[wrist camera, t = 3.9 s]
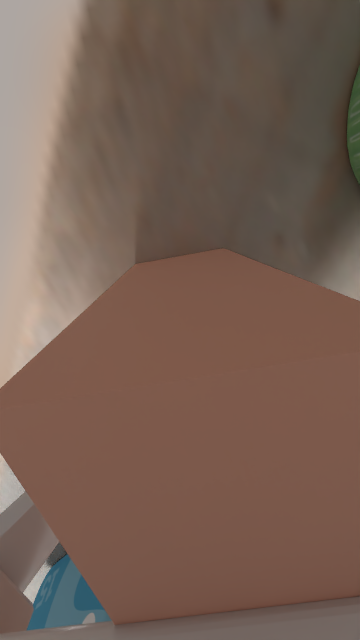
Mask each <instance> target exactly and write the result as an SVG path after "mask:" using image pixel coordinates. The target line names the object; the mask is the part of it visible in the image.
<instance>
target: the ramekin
mask: <svg viewBox="0 0 360 640" xmlns="http://www.w3.org/2000/svg"><path fill="white" fill-rule="evenodd" d="M347 148H348V151H349V159H350V163H351V167H352V169H353V172H354V175H355V177H356V179H357V181H358V183H359V185H360V66H359V69H358V72H357V75H356V78H355V81H354V85H353V89H352V94H351V99H350V104H349V110H348V122H347Z"/></svg>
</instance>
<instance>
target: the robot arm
mask: <svg viewBox="0 0 360 640" xmlns="http://www.w3.org/2000/svg"><path fill="white" fill-rule="evenodd" d="M58 543H59V540H58V539H57V537H56V536H55V534H54V533H53V531H52V530H51V528H50V527H49V525H48V524H47V522H46V521H45V519H44V518H43V516H42V515H41V513H40V512H39V510H38V509H37V507H36V506H35V504H34V503H33V501H32V500H31V498H30V497H29V495H28V494H27V492H26V491H25V492H24V493H23V494H22V495H21V496H20V497H19V498H18V499H17V500H16V501H14V502H13V503H12V504H11V505H10V506H9V507H8V508H7V509H6V510H5V511H4V512H2V513H1V514H0V640H360V596H357V597H348V598H340V599H331V600H323V601H314V602H306V603H297V604H289V605H280V606H272V607H264V608H255V609H246V610H238V611H229V612H221V613H212V614H204V615H195V616H187V617H178V618H170V619H161V620H152V621H144V622H135V623H127V624H118V625H115V624H114V623H113V621H104V622H96V623H87V624H78V625H70V626H61V627H53V628H44V629H36V630H27V627H28V625H29V622H30V619H31V616H32V613H33V611H34V608H33V604H32V602H31V601H30V600H29V599H28V598H27V597H26V596H25V595H24V594H23V592H24V590H25V589H26V588H27V586H28V585H29V583H30V582H31V580H32V579H33V578H34V576H35V575H36V573H37V572H38V571H39V569H40V568H41V566H42V565H43V564H44V562H45V561H46V559H47V558H48V557H49V555H50V554H51V552H52V551H53V550H54V548H55V547H56V545H57V544H58ZM26 630H27V631H26Z"/></svg>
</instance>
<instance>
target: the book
mask: <svg viewBox="0 0 360 640" xmlns="http://www.w3.org/2000/svg"><path fill="white" fill-rule="evenodd" d="M0 453H1V455H2V456H3V458H4V459H5V461H6V462H7V464H8V465H9V467H10V468H11V470H12V471H13V473H14V474H15V476H16V477H17V479H18V480H19V482H20V483H21V485H22V486H23V488H24V489H25V491H26V492H27V494H28V495H29V497H30V498H31V500H32V501H33V503H34V504H35V506H36V507H37V509H38V510H39V512H40V513H41V515H42V516H43V518H44V519H45V521H46V522H47V524H48V525H49V527H50V528H51V530H52V531H53V533H54V534H55V536H56V537H57V539H58V540H59V542H60V543H61V545H62V546H63V548H64V549H65V551H66V552H67V554H68V555H69V557H70V558H71V560H72V561H73V563H74V564H75V566H76V567H77V569H78V570H79V572H80V573H81V575H82V576H83V578H84V579H85V581H86V582H87V584H88V585H89V587H90V588H91V590H92V591H93V593H94V594H95V596H96V597H97V599H98V600H99V602H100V603H101V605H102V606H103V608H104V609H105V611H106V612H107V614H108V615H109V617H110V618H111V620H112V621H113V623H114V624H115V625H118V624H127V623H135V622H144V621H152V620H161V619H170V618H178V617H187V616H195V615H204V614H212V613H221V612H229V611H238V610H246V609H255V608H264V607H272V606H280V605H289V604H297V603H306V602H314V601H323V600H331V599H340V598H348V597H357V596H360V301H358V300H355V299H352V298H350V297H347V296H345V295H342V294H340V293H337V292H335V291H332V290H329V289H327V288H324V287H322V286H319V285H317V284H314V283H312V282H309V281H306V280H304V279H301V278H299V277H296V276H294V275H291V274H288V273H286V272H283V271H281V270H278V269H276V268H273V267H271V266H268V265H265V264H263V263H260V262H258V261H255V260H253V259H250V258H248V257H245V256H242V255H240V254H237V253H235V252H232V251H230V250H227V249H224V248H221V249H215V250H210V251H204V252H199V253H193V254H188V255H182V256H177V257H171V258H166V259H160V260H155V261H149V262H144V263H138V264H135V265H134V266H133V267H131V268H130V269H129V270H128V271H127V272H126V273H125V274H124V275H123V276H122V277H121V278H119V279H118V280H117V281H116V282H115V283H114V284H113V285H112V286H111V287H110V288H109V289H108V290H106V291H105V292H104V293H103V294H102V295H101V296H100V297H99V298H98V299H97V300H96V301H95V302H93V303H92V304H91V305H90V306H89V307H88V308H87V309H86V310H85V311H84V312H83V313H82V314H80V315H79V316H78V317H77V318H76V319H75V320H74V321H73V322H72V323H71V324H70V325H69V326H67V327H66V328H65V329H64V330H63V331H62V332H61V333H60V334H59V335H58V336H57V337H56V338H54V339H53V340H52V341H51V342H50V343H49V344H48V345H47V346H46V347H45V348H44V349H43V350H41V351H40V352H39V353H38V354H37V355H36V356H35V357H34V358H33V359H32V360H31V361H30V362H28V363H27V364H26V365H25V366H24V367H23V368H22V369H21V370H20V371H19V372H18V373H17V374H15V375H14V376H13V377H12V378H11V379H10V380H9V381H8V382H7V383H6V384H5V385H4V386H2V387H1V389H0Z"/></svg>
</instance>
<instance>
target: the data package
mask: <svg viewBox="0 0 360 640" xmlns="http://www.w3.org/2000/svg"><path fill="white" fill-rule="evenodd" d="M33 608H34V611H33V613H32V616H31V619H30V622H29V625H28V627H27V630H36V629H44V628H53V627H61V626H70V625H78V624H87V623H96V622H104V621H112V620H111V618H110V617H109V615H108V614H107V612H106V611H105V609H104V608H103V606H102V605H101V603H100V602H99V600H98V599H97V597H96V596H95V594H94V593H93V591H92V590H91V588H90V587H89V585H88V584H87V582H86V581H85V579H84V578H83V576H82V575H81V573H80V572H79V570H78V569H77V567H76V566H75V564H74V563H73V561H72V560H71V558H70V557H69V555H68V554H66V555H65V556H64V557H63V558H62V559H60V560H59V561H58V562H57V563H56V564H55V565H54V566H53V567H52V568H51V569H50V570H49V572H48V574H47V575H46V577H45V579H44V580H43V582H42V584H41V586H40V589H39V591H38V593H37V596H36V598H35V601H34V603H33ZM27 630H26V631H27Z"/></svg>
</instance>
